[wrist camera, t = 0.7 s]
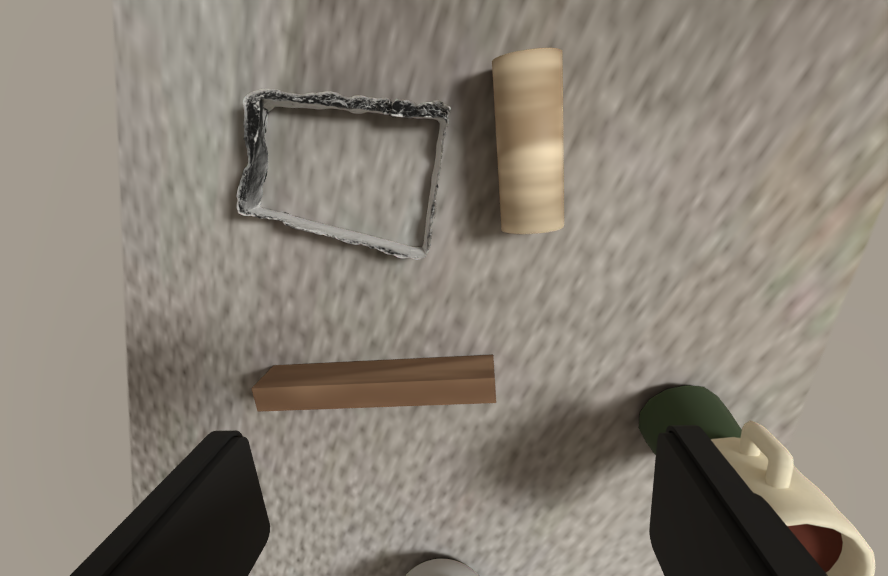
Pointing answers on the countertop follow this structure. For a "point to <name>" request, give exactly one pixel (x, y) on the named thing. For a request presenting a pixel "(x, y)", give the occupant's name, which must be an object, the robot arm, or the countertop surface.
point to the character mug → (765, 476)
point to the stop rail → (377, 384)
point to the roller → (530, 139)
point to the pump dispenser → (442, 568)
